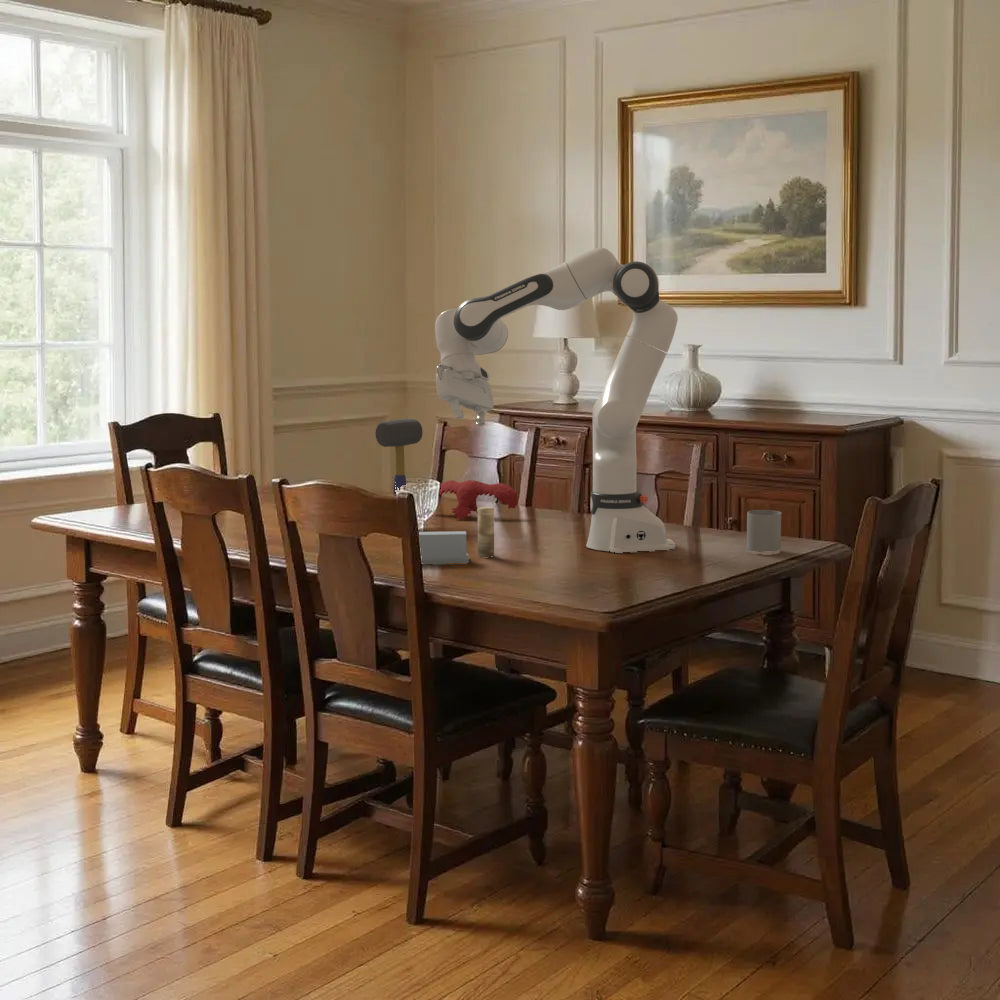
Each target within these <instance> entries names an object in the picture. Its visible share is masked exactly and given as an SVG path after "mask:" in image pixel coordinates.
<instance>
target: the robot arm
mask: <svg viewBox="0 0 1000 1000" xmlns="http://www.w3.org/2000/svg"><path fill="white" fill-rule="evenodd" d="M659 289H660V280H659V277H658V274H657V273H656V271H655V270H654V268H653V267H651V266H650V264H649V265H648V264H647V263H645V262H642V261H630V262H627V263H625V264H621V263H620V262H619V261H618V259H617V258H616V256H615V255H614V254H613V253H612V251H610V250H609V249H607V248H605V247H596V248H593V249H590V250H587V251H585V252H582V253H580V254H577V255H575V256H574V257H572V258H569V259H568V260H566V261H565V262H562V263H560V264H559V265H557V266H555V267H553V268H550V269H548V270H547V271H544V272H541V273H538V274H535V275H531V276H530V277H527V278H524V279H521V280H520V281H516V282H515V283H513V284H511V285H508V286H507V287H504V288H502V289H500V290H498V291H496V292H494V293H492V294H489V295H486V296H481V297H473V298H469V299H467V300H465V301H463V302H462V303H461V304H460V305H459V306H458V307H456V308H455V307H454V308H449V309H447V310H445V311H443V312H441V313H440V314H439V315H438V316H437V317H436V320H435V323H434V333H435V340H436V341H435V342H436V345H437V346H436V347H437V350H438V351H439V352H438V353H439V355H440V363H439V364H438V365H436V369H435V370H436V374H435V385H436V394H437V396H438V398H439V399H440V400H441V401H444V402H447V403H448V404H449V407H450V409H451V411H452V412H453V415H454V418H455V419H457V420H461V419H463V418H464V417H465V415H464V411H463V410H462V409H461V408H465V409H467V410H472V411H474V412H475V414H476V415H477V418H476V419H475V423H476V426H479V427H483V426H485V425H486V419H485V418H486V414H487V413H488V412H490V411H492V410H493V409H494V406H495V403H494V397H493V392H492V391H493V390H492V388H491V385H490V383H489V382H488V381H489V380H490V375H489V373H488V372H487V371H486V370H485V369H484V368H483V367H482V366H481V365H480V364H479V362H478V361H477V360H476V356H477V355H478V356H479V355H480V356H481V355H487V354H491V353H492V354H493V353H496V352H498V351H500V350H501V349H502V348H504V346H505V344H506V342H507V340H508V337H509V331H508V328H507V327H508V326H507V325H506V324H505V323H504V321H503V320H502V318H504V317H507V316H509V315H511V314H513V313H516V312H518V311H520V310H522V309H524V308H527V307H529V306H545V307H548V308H551V309H555V310H558V311H567V310H570V309H573V308H576V307H578V306H580V305H581V304H583V303H585V302H587V301H588V300H591V299H592V298H594V297H596V296H598V295H600V294H602V293H605V292H610V293H611V292H612V294H614V295H615V296H616V297H617V299H618V301H620V303H621V304H623V305H624V306H626V307H628V308H629V309H631V310H632V311H633V317H632V321H631V325H630V326H629V328H628V331H627V333H626V336H625V337H624V340H623V342H622V344H621V347H620V349H619V350H618V351H619V352H618V354H617V355H616V358H615V360H614V363H613V365H612V368H611V370H610V373H609V376H608V378H607V381H606V383H605V385H604V388H603V390H602V393H601V395H600V397H599V398H598V399H597V400H596V401H595V403H594V405H593V407H592V491H591V492H590V500H589V501H590V512H591V518H590V519H591V520H590V528H589V532H588V533H589V534H588V537H587V542H586V545H585V546H586V548H588V549H592V550H595V551H602V552H603V551H604V552H609V551H610V552H611V553H614V552H615V554H624V553H623V552H630V553H638V552H637V551H649V552H656V551H655V550H667V551H669V550H668V549H673V548H675V549H676V543H675V542H674V541H673V540H672V539H670V538H668V537H667V530H666V526H665V524H664V522H663V521H662V519H660V518H659V517H658V516H656V514H654V513H653V512H652V511H650V510H649V509H648V508H647V507H646V506H644V505H645V504H647V503H648V502H649V497H648V496H647V495H646V494H642V493H640V492H639V491H637V465H638V464H637V462H638V461H637V460H638V459H637V426H638V423H639V421H640V419H641V416H642V415H643V412H644V408H645V407H646V404H647V401H648V400H649V399H648V398H649V396H650V393H651V391H652V389H653V386H654V383H655V381H656V379H657V376H658V375H659V372H660V370H661V368H662V365H663V363H664V361H665V359H666V356H667V354H668V352H669V349H670V347H671V344H672V342H673V340H674V336H675V332H676V329H677V324H678V313H677V311H676V310H675V309H674V308H673V306H671V305H670V304H668V303H667V302H665V301H663V300H662V299H660V293H659V292H660V290H659ZM673 550H674V549H673Z"/></svg>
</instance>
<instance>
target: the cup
mask: <svg viewBox="0 0 1000 1000" xmlns="http://www.w3.org/2000/svg"><path fill="white" fill-rule="evenodd" d="M746 516H747V517H746V551H747V550H749V551H756V552H757V551H758V552H762V551H763V552H764V551H777V550H779V549H780V550H781V544H782V543H781V541H782V537H781V536H782V511H780V510H779V511H778V510H772V509H771V510H769V509H754V510H753V509H752V510H748V511H747V514H746Z"/></svg>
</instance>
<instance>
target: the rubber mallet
mask: <svg viewBox="0 0 1000 1000" xmlns="http://www.w3.org/2000/svg"><path fill="white" fill-rule="evenodd" d="M374 433H375V438H376V441H377V443H378V444H379V445H380V446H382V447H385V448H387V447H389V448H391V447H392V448H393V447H394V452H395V453H394V461H395V462H394V463H395V466H394V467H395V468H394V470H395V471H394V478H393V487H392V488H393V495H394V494H396V492H395V490H397V487H398V488H399V490H400V487H401V486H402V485H406V484H407V477H406V474H405V473H406V471H405V469H406V468H405V446H408V445H414V444H417V443H419V442H420V441H421V440H422V438H423V427H422V424H421V423H420V421H418V420H417V419H415V418H399V419H397V418H396V419H392V420H386V421H381V422H379V423H378V425H377V426H376V429H375V432H374ZM395 482H396V483H395ZM395 485H396V486H395ZM395 487H396V489H395Z"/></svg>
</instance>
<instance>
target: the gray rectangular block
mask: <svg viewBox="0 0 1000 1000" xmlns="http://www.w3.org/2000/svg"><path fill="white" fill-rule="evenodd" d="M418 532H419V539H420V548H421V556H422V563H423V565H424V564H425V565H426V564H433V565H445V564H444V563H470V557H469V553H467V531H465V530H462V531H459V530H455V531H454V530H453V531H418ZM425 565H424V566H425Z"/></svg>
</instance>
